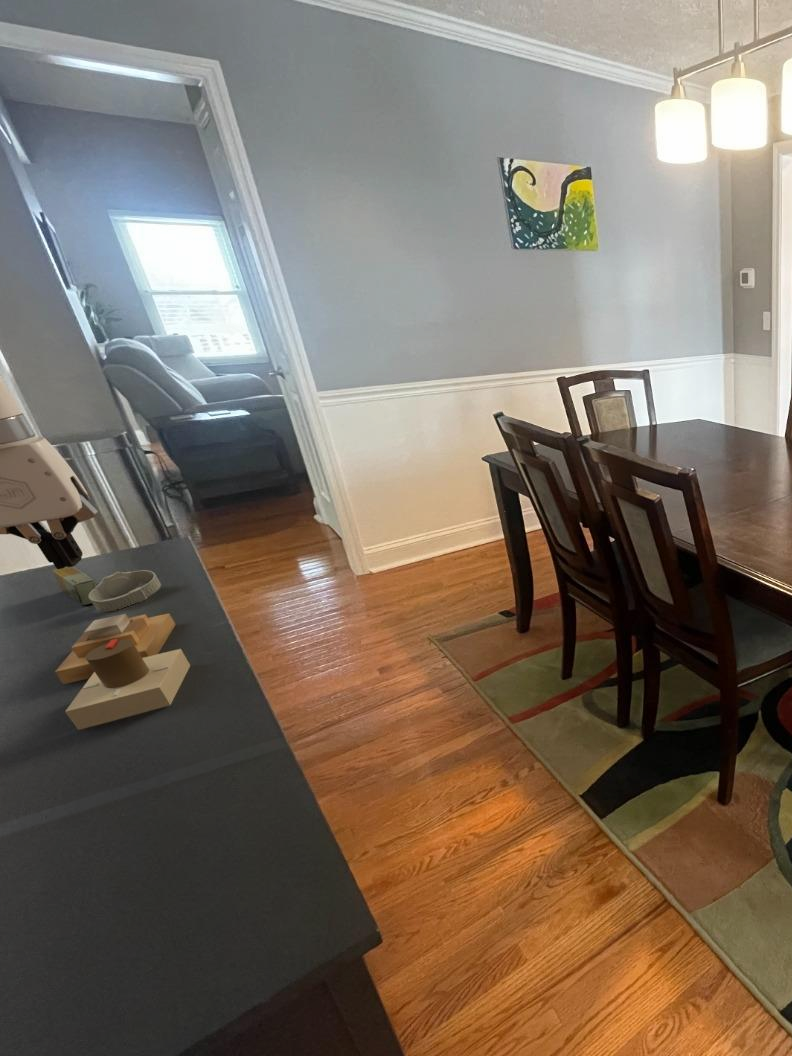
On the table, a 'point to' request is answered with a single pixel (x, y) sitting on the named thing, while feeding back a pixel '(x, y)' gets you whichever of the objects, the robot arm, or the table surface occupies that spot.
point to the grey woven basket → (123, 590)
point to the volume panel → (130, 692)
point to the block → (141, 632)
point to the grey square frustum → (107, 627)
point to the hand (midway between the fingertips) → (70, 563)
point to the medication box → (75, 584)
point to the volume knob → (117, 663)
